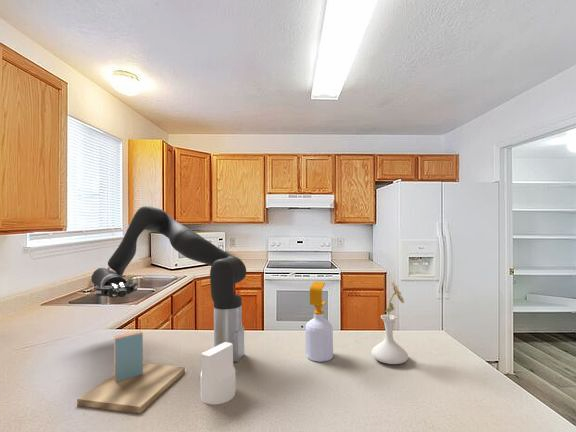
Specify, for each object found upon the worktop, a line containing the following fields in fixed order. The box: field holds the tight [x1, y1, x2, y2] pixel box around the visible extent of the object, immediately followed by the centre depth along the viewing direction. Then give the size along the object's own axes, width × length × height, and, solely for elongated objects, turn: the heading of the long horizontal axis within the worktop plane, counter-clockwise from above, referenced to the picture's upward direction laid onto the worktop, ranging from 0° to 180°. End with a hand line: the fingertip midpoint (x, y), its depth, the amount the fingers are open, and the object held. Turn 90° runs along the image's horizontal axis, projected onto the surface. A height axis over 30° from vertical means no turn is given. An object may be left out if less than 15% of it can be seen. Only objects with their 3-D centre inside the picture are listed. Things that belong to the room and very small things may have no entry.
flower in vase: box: [371, 280, 409, 365], centre depth 99 cm, size 13×11×25 cm
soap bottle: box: [305, 281, 334, 363], centre depth 102 cm, size 9×9×25 cm
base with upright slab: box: [199, 342, 237, 405], centre depth 80 cm, size 9×9×12 cm
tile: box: [113, 330, 144, 382], centre depth 87 cm, size 2×7×12 cm, turn 128°
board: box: [76, 362, 186, 414], centre depth 84 cm, size 18×20×2 cm
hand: (122, 293), depth 97 cm, fingers closed
